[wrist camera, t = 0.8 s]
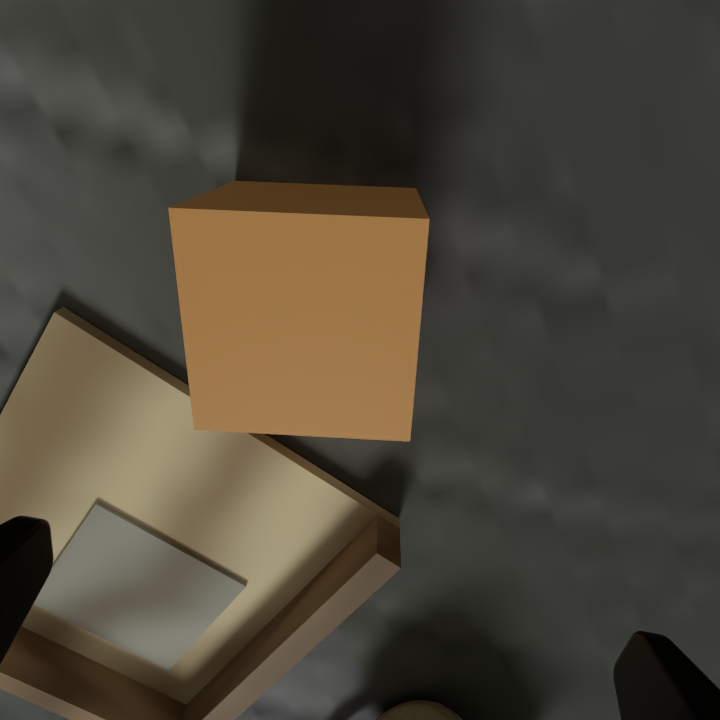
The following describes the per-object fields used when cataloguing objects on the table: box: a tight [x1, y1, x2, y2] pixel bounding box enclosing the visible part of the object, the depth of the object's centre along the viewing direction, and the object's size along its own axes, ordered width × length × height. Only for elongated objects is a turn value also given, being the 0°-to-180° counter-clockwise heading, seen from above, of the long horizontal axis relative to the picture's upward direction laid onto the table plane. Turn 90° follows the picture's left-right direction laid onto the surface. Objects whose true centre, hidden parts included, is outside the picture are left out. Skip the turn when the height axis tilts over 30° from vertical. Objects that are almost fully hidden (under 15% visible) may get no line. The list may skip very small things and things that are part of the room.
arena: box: [0, 307, 401, 720], centre depth 23 cm, size 16×18×3 cm
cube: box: [169, 181, 430, 441], centre depth 16 cm, size 6×6×6 cm
